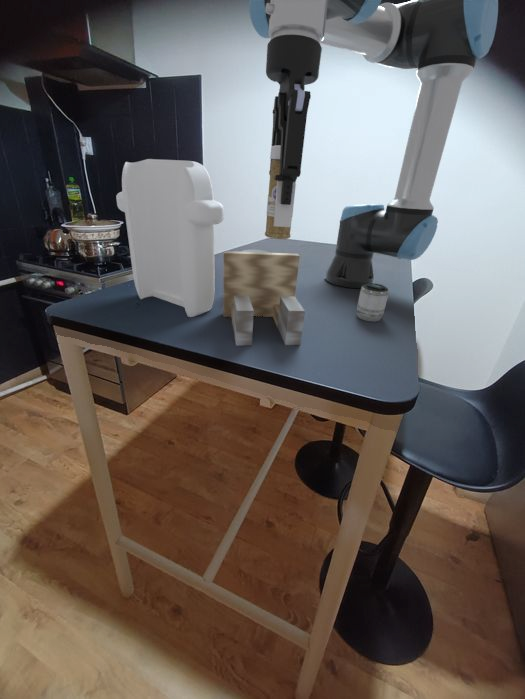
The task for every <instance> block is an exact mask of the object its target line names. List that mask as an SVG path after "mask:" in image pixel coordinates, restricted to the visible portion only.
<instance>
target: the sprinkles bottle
mask: <svg viewBox="0 0 525 699" xmlns="http://www.w3.org/2000/svg"><path fill="white" fill-rule="evenodd" d="M280 152H281V145H275V146H272V145H271V147H270V155H269V157H270V158H269V159H270V161H269V162H271V171H270V170H269V171H270V175H269V183H268V184H269V185H268V194H267V205H266V221H265V222H266V224H265V232H264V236H265V237H266V238H270V239H273V240H274V239H275V240H287V239H290V238H291V231H292V230H291V229H292V226H291V227H277V226H274V214H275V201H276V189H277V181H278V180H275V176H276V175H279V174H280ZM296 182H297V181H296ZM296 182H294V183H295V189H294V198H293V208H292V216H294V215H293V214H294V203H295V194H296V188H297V184H296ZM292 218H293V217H292ZM292 218H291V222H292V220H293V219H292Z"/></svg>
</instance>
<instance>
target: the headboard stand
mask: <svg viewBox="0 0 525 699" xmlns="http://www.w3.org/2000/svg"><path fill="white" fill-rule="evenodd" d="M300 256H301V255H299V253H291V252H290V253H288V252H287V253H286V252H285V253H283V252H270V253H264V252H242V251H229V250H224V251H223V256H222V257H223V268H222V269H223V270H222V271H223V276H222V277H223V278H222V279H223V283H222V284H223V285H222V290H223V293H222V296H223V298H222V299H223V300H222V302H223V303H222V304H223V308H222V309H223V310H222V314H223V317H225V318H227V317H228V318H229V317H230V318H231V324H232V330H233V335H234V341H235V346H236V347H238V346H240V347H241V346H252V345H253V330H254V329H253V328H254V317H253V316H256V317H257V316H258V317H257V318H260V316H261V317H262V316H263V317H262V318H268V317H271V318H273V320H274V323H275V326H276V328H277V330H278V332H279V335H280V337H281V338H282V341H283V343H284V345H285V346H297V345H298V346H300V345H302V344H301V343H302V334H303V329H304V328H303V327H304V322H305V321H304V320H305V312H306V311H305V308H303V306H302V305H301V302H299V300H298V299H297V297H296V292H297V291H296V290H297V284H298V272H299V263H300Z"/></svg>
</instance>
